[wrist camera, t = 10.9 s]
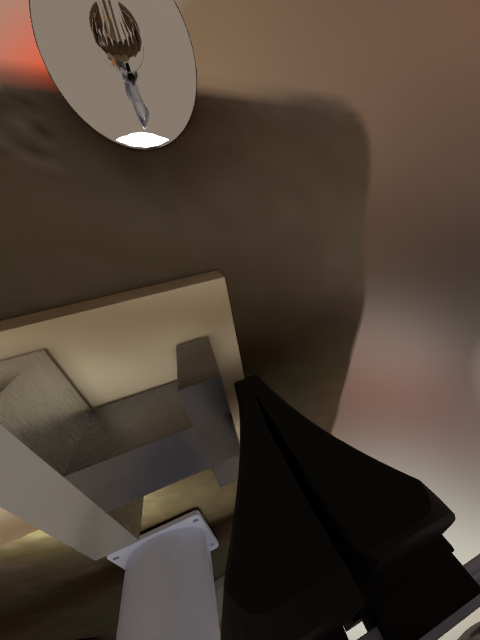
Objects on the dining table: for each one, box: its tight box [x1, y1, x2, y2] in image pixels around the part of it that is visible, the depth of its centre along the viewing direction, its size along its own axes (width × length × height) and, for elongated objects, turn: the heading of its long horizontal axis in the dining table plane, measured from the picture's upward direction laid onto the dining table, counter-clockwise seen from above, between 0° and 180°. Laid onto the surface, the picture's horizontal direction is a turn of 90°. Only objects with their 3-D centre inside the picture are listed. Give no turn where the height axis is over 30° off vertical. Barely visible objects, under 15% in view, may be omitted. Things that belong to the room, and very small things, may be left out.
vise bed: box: [0, 270, 245, 546], centre depth 10 cm, size 12×23×2 cm, turn 100°
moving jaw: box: [0, 337, 240, 561], centre depth 9 cm, size 10×8×3 cm
